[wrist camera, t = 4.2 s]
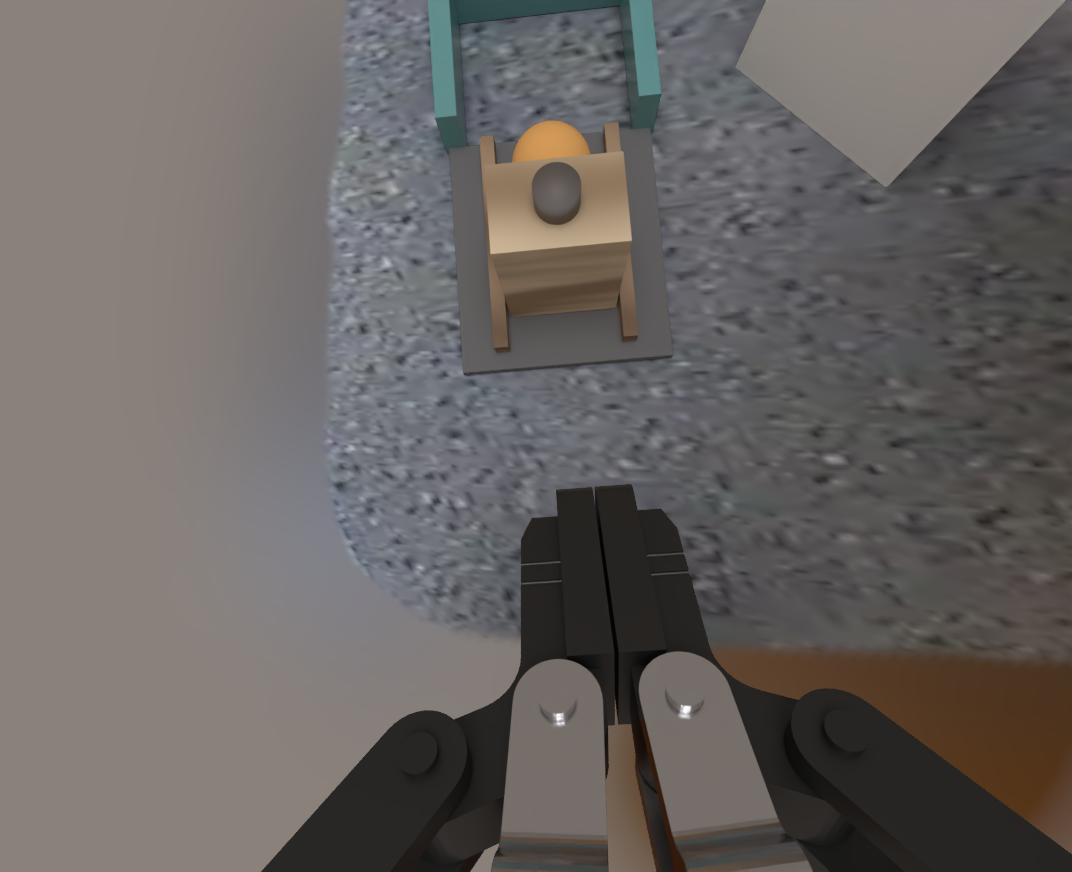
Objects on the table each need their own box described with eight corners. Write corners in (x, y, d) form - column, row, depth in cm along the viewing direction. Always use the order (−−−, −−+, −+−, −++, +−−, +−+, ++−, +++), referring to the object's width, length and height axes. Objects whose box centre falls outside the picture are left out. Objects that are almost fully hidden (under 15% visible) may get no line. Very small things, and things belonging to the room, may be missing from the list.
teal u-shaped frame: (652, 133, 35) (661, 93, 32) (448, 154, 36) (435, 117, 33) (637, -15, 36) (644, -69, 33) (438, 8, 37) (425, -42, 34)
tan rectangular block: (615, 307, 34) (635, 225, 23) (511, 317, 34) (485, 240, 24) (609, 240, 34) (626, 131, 24) (506, 250, 34) (479, 146, 24)
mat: (671, 357, 34) (672, 354, 33) (465, 375, 35) (463, 372, 34) (648, 133, 35) (650, 127, 35) (451, 153, 36) (449, 148, 35)
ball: (605, 185, 35) (611, 140, 30) (552, 237, 34) (549, 199, 30) (553, 136, 35) (551, 85, 31) (500, 187, 35) (490, 143, 31)
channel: (635, 340, 34) (638, 335, 32) (496, 353, 34) (493, 347, 33) (616, 134, 35) (618, 122, 34) (482, 148, 35) (479, 136, 34)
